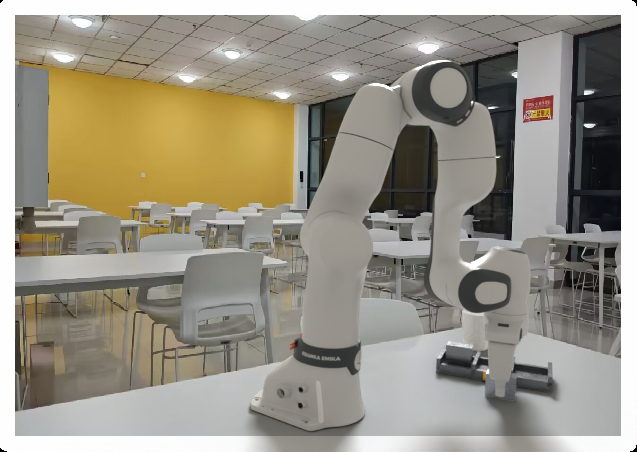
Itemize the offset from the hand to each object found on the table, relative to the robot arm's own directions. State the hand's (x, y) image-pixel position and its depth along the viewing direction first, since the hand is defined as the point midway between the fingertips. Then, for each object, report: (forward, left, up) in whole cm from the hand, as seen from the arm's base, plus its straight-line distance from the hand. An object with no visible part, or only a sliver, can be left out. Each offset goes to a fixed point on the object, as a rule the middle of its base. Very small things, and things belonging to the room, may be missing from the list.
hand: (501, 387), depth 109 cm
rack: (-3, +12, -2) cm, 12 cm away
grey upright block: (0, 0, -2) cm, 2 cm away
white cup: (-9, +31, -2) cm, 32 cm away
